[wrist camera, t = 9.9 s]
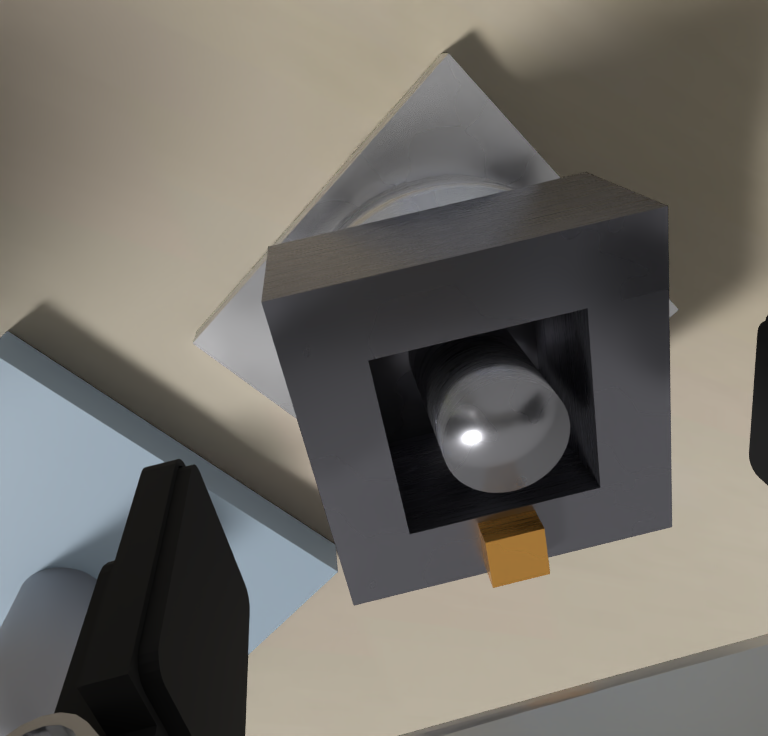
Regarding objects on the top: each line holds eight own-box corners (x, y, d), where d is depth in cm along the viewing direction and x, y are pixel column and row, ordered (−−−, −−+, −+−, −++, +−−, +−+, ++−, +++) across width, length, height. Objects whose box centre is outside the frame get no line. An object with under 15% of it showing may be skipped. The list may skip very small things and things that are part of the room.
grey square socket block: (268, 246, 14) (259, 315, 11) (585, 172, 14) (686, 213, 11) (343, 504, 17) (356, 626, 14) (603, 441, 18) (686, 545, 14)
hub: (196, 330, 17) (149, 469, 12) (441, 53, 15) (531, 54, 10) (436, 507, 21) (491, 682, 15) (663, 299, 19) (828, 410, 13)
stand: (-204, 599, 19) (-396, 810, 14) (7, 330, 17) (-128, 463, 11) (125, 742, 23) (76, 948, 18) (335, 544, 21) (350, 716, 16)
